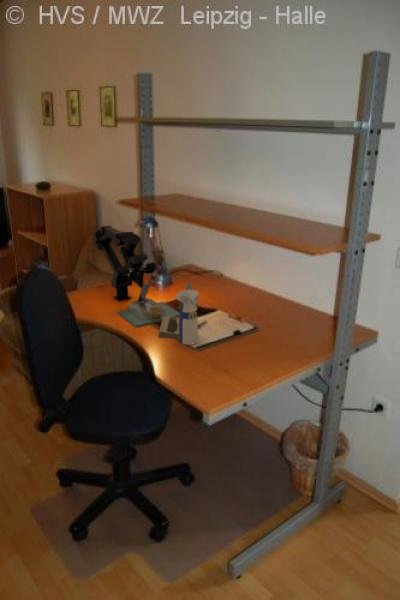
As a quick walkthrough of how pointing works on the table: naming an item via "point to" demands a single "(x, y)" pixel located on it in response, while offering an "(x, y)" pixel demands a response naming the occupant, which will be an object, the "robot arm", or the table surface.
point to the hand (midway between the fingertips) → (142, 287)
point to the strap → (143, 292)
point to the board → (138, 322)
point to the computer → (169, 327)
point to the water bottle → (188, 315)
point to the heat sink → (147, 310)
